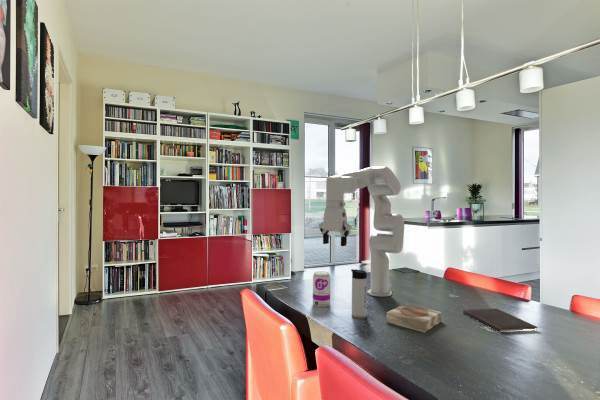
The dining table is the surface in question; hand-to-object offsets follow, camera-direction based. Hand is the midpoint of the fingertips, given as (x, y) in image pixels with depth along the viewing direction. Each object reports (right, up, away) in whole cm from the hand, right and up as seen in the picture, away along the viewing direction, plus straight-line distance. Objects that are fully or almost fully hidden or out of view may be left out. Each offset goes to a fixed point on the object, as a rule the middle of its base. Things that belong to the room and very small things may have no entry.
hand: (334, 244), depth 154 cm
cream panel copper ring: (+32, -31, -8) cm, 45 cm away
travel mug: (+10, -31, -2) cm, 32 cm away
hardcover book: (+66, -32, -7) cm, 74 cm away
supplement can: (-5, -30, +14) cm, 34 cm away
